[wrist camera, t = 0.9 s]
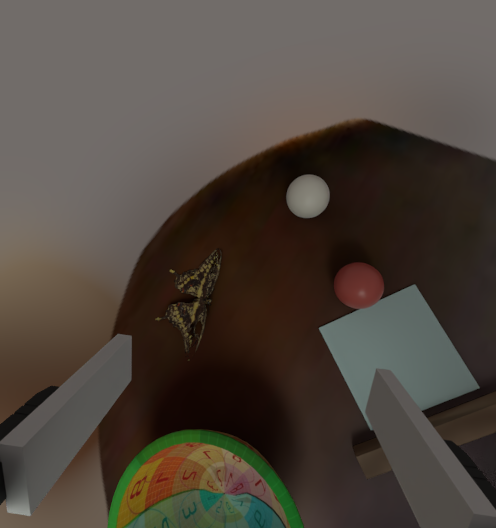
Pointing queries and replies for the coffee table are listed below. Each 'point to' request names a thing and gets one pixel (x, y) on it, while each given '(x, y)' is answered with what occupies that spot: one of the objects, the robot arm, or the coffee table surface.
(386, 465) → the strip
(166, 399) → the coffee table surface
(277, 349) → the coffee table surface
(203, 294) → the butterfly
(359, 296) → the red ball
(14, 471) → the robot arm
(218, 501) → the bowl
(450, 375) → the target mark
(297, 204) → the white ball
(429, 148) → the coffee table surface
